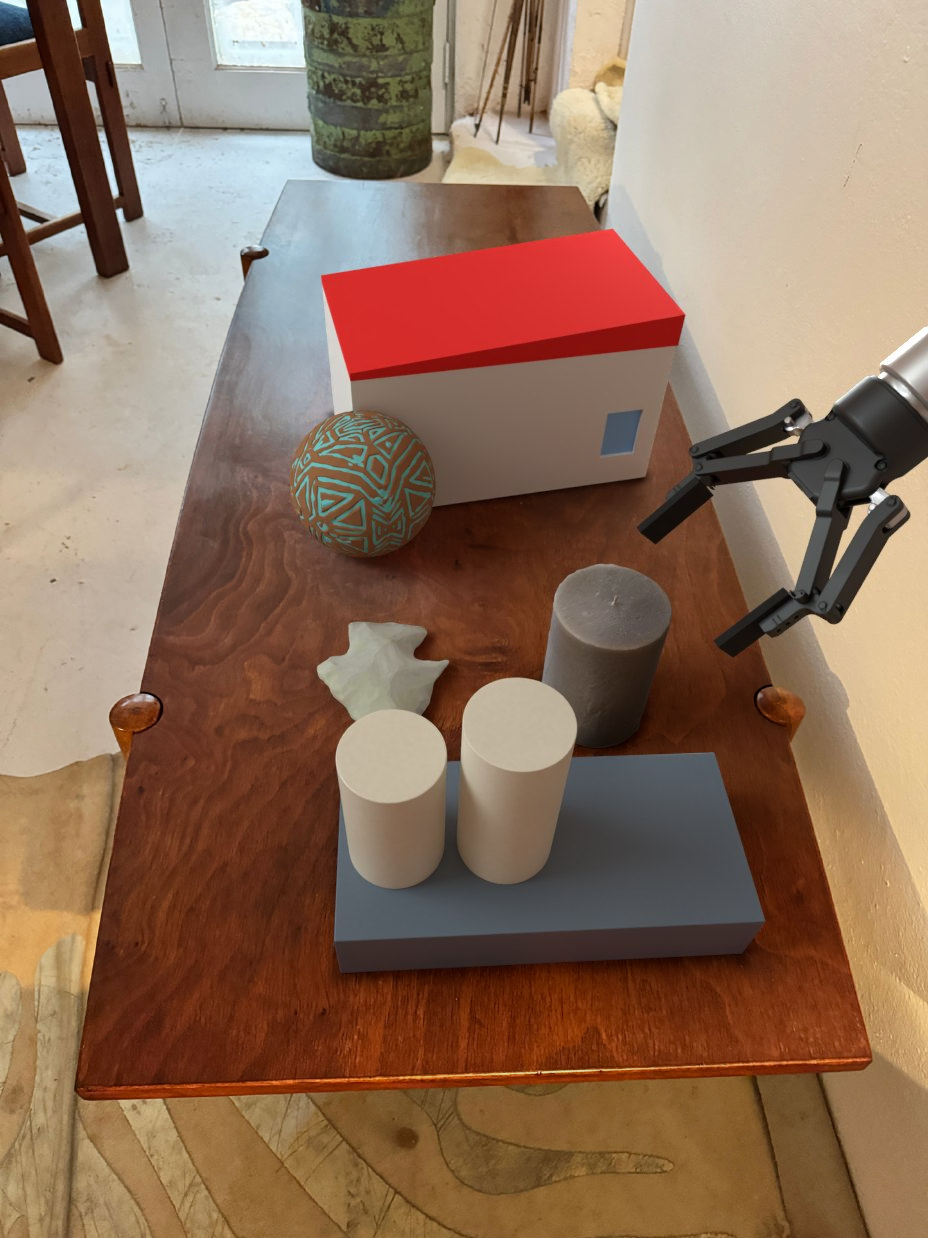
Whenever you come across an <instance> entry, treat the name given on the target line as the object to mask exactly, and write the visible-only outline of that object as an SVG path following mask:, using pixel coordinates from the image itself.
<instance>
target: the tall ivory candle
mask: <svg viewBox="0 0 928 1238" xmlns="http://www.w3.org/2000/svg"><path fill="white" fill-rule="evenodd" d="M461 725H462V726H461V743H460V744H461V745H460V761H461V762H460V782H459V801H458V821H457V847H458V851H459V854H460V856H461V858H462V860H463V862H464V863H465V865H466V866H467V867H468V868H469V869H470V870H471V871H472V872H473V873H474V874H476V875H477V876H479V877H480V878H482V879H484V880H486V881H489V882H492V883H497V884H515V883H519V882H523V881H525V880H528V879H529V878H531V877H533V876H534V875H535V874H537V873H538V872H539V871H540V870H541V869H542V868H543V866H544V865H545V863H546V861H547V859H548V857H549V854H550V850H551V846H552V841H553V837H554V833H555V828H556V824H557V819H558V815H559V811H560V806H561V802H562V798H563V793H564V789H565V784H566V780H567V776H568V771H569V767H570V762H571V758H572V757H573V753H574V750H575V749H574V748H575V744H576V743H575V741H576V736H577V721H576V717H575V714H574V711H573V709H572V707H571V706H570V704H569V703H568V701H567V700H566V699H565V698H564V697H563V696H562V695H561V694H560V693H559V692H558V691H556V690H555V689H553V688H552V687H550V686H548V685H546V684H544V683H542V681H540V680H535V679H531V678H527V677H507V678H501V679H497V680H494V681H492V682H490V683H488V684H485V685H484V686H482V687H481V688H479V689H478V690H477V691H476V692H475V693H473V695H472V696H471V697H470V699H469V700H468V701H467V703H466V706H465V708H464V710H463V714H462V724H461Z"/></svg>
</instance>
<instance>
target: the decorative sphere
mask: <svg viewBox="0 0 928 1238" xmlns="http://www.w3.org/2000/svg"><path fill="white" fill-rule="evenodd" d="M288 481H289V483H288V485H289V494H290V499H291V500H290V501H291V504H292V508H293V510H294V512H295V514H296V516H297V517H298V519H299V521H300V523H301V525H302V526H303V528H304V529H305V530H306V531H307V532H308V534H310V536H311V537H313V539H315V540H316V541H317V542H319V544H322V545H323V546H324V547H326V548H328V549H329V550H331V551H333V552H336V553H338V554H341V555H345V556H349V557H354V558H373V557H379V556H385V555H387V554H388V553H392V552H395V551H396V550H398V549H400V548H402V547H403V546H405V545H406V544H408V543H409V542H410V541H412V540H413V539H414V538H415V537H416V536H417V535H418V534H419V533H420V531H421V530H422V529H423V527H424V526H425V524H426V522H427V520H428V518H429V517H430V515H431V512H432V511H433V507H432V505H433V503H434V498H435V492H436V482H435V472H434V468H433V464H432V460H431V457H430V455H429V453H428V451H427V449H426V447H425V446H424V444H423V443H422V441H421V440H420V439H419V437H418V436H417V435H416V434H415V433H414V432H413V431H412V430H411V429H410V428H409V427H408V426H407V425H405V424H404V423H402V422H401V421H399V420H397V419H395V418H393V417H391V416H389V415H386V414H383V413H379V412H374V411H349V412H343V413H340V414H337V415H335V414H334V415H332V416H329V417H327V418H325V419H324V420H323V421H321V422H320V423H318V424H317V425H315V426H314V427H313V429H311V430H310V431H309V432H308V433H307V434H306V435H305V436H304V437H303V439H302V441H301V442H300V444H299V445H298V447H297V448H296V451H295V454H294V456H293V458H292V462H291V465H290V471H289V480H288Z"/></svg>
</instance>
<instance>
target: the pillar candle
mask: <svg viewBox="0 0 928 1238" xmlns="http://www.w3.org/2000/svg"><path fill="white" fill-rule="evenodd" d="M554 593H555V594H554V599H553V602H552V613H551V619H550V628H549V631H548V639H547V646H546V647H547V648H546V651H545V657H544V663H543V670H542V671H543V673H542V678H541V682H542V683H544V684H546V685H548V686H550V687H552V688H553V689H555V690H556V691H558V692H559V693H560V694H561V695H562V696H563V697H564V698H565V699H566V700H567V701H568V703H569V704H570V706H571V707H572V709H573V711H574V714H575V717H576V721H577V736H576V741H575V744H576V745H579V746H582V747H586V748H592V749H605V748H609V747H610V748H611V747H613V746H617V745H619V744H622V743H623V742H625V741H627V740H628V739H629V738H631V737H632V736H633V735H634V734H635V733H636V732H637V731H638V729H639V728H640V722H641V719H642V717H643V713H644V711H645V709H646V707H647V703H648V698H649V695H650V693H651V690H652V685H653V682H654V679H655V675H656V672H657V669H658V666H659V662H660V659H661V655H662V654H663V653H662V652H663V649H664V646H665V643H666V640H667V637H668V633H669V630H670V627H671V623H672V617H673V609H672V604H671V601H670V598H669V596H668V595H667V593H666V591H664V588H662V587H661V586H660V585H659V584H658V583H657V582H656V581H655V580H653V579H652V578H650V577H649V576H647V575H645V574H643V573H642V572H639V571H636V569H632V568H629V567H624V566H620V565H616V564H614V563H608V564H604V563H599V564H598V563H597V564H594V565H589V566H588V567H585V568H581V569H577V570H575V572H573V573H570V574H568V575H567V576H566V577H565V578H564V579H563V581H562V582H561V583H559V585H558V587H557V588H556V591H555V592H554Z"/></svg>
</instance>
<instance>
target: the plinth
mask: <svg viewBox="0 0 928 1238" xmlns="http://www.w3.org/2000/svg"><path fill="white" fill-rule="evenodd" d="M460 762H461V760H452V761H448V760H447V773H446V808H445V843H444V852H443V856H442V859H441V861H440V863H439V865H438V866H437V868H436V869H435V870H434V872H433V873H432V874H431V875H430V876H429V877H427V878H426V879H425V880H423V881H422V882H420V883H418V884H416V885H413V886H411V887H407V888H401V889H388V888H383V887H379V886H377V885H374V884H372V883H370V882H369V881H367V880H366V879H364V878H363V877H362V876H361V875H360V874H359V873H358V871H357V870H356V869H355V867H354V865H353V863H352V861H351V858H350V854H349V847H348V841H347V834H346V827H345V821H344V814H343V807H342V801H341V794H340V798H339V799H340V800H339V821H338V841H337V842H338V843H337V864H336V867H337V869H336V885H335V886H336V887H335V905H334V906H335V909H334V910H335V911H334V927H333V929H334V931H333V943H334V947H335V953H336V957H337V962H338V966H339V971H340V973H341V974H348V973H349V974H350V973H352V974H353V973H369V972H372V973H373V972H387V971H389V972H391V971H392V972H393V971H413V970H432V969H451V968H452V969H453V968H473V967H494V966H496V967H497V966H513V965H514V966H515V965H535V964H537V965H538V964H555V963H576V962H579V963H580V962H597V961H600V962H601V961H618V960H634V959H635V960H638V959H639V960H640V959H641V960H642V959H657V958H658V959H659V958H678V957H679V958H680V957H681V958H682V957H699V956H700V957H701V956H703V957H704V956H719V955H720V956H721V955H723V956H724V955H740V954H741V955H742V954H743V953H744V952H745V950H747V948H748V946H749V945H750V944H751V942H752V941H753V940H754V938H755V937H756V935H757V934H758V933H759V932H760V930H761V929H762V927H763V926H764V924H765V923H766V919H765V918H766V917H765V915H764V912H763V908H762V905H761V902H760V899H759V895H758V893H757V892H758V891H757V889H756V884H755V882H754V879H753V876H752V872H751V869H750V865H749V863H748V862H749V861H748V858H747V856H746V852H745V849H744V846H743V845H744V844H743V843H742V839H741V835H740V833H739V829H738V826H737V823H736V819H735V816H734V813H733V809H732V806H731V802H730V799H729V797H728V793H727V790H726V786H725V783H724V779H723V776H722V773H721V769H720V767H719V763H718V761H717V757H716V754H715V752H694V753H693V752H692V753H691V752H689V753H688V752H687V753H662V754H660V753H659V754H657V753H656V754H628V755H626V754H625V755H603V756H602V755H601V756H600V755H599V756H597V755H596V756H572V758H571V762H570V767H569V771H568V776H567V780H566V784H565V789H564V793H563V798H562V802H561V806H560V811H559V815H558V819H557V824H556V828H555V833H554V837H553V841H552V846H551V850H550V854H549V857H548V859H547V861H546V863H545V865H544V866H543V868H542V869H541V870H540V871H539V872H538V873H537V874H535V875H534V876H533V877H531V878H529V879H528V880H525V881H523V882H519V883H515V884H497V883H492V882H489V881H486V880H484V879H482V878H480V877H479V876H477V875H476V874H474V873H473V872H472V871H471V870H470V869H469V868H468V867H467V866H466V865H465V863H464V862H463V860H462V858H461V856H460V854H459V851H458V847H457V821H458V801H459V782H460Z"/></svg>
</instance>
